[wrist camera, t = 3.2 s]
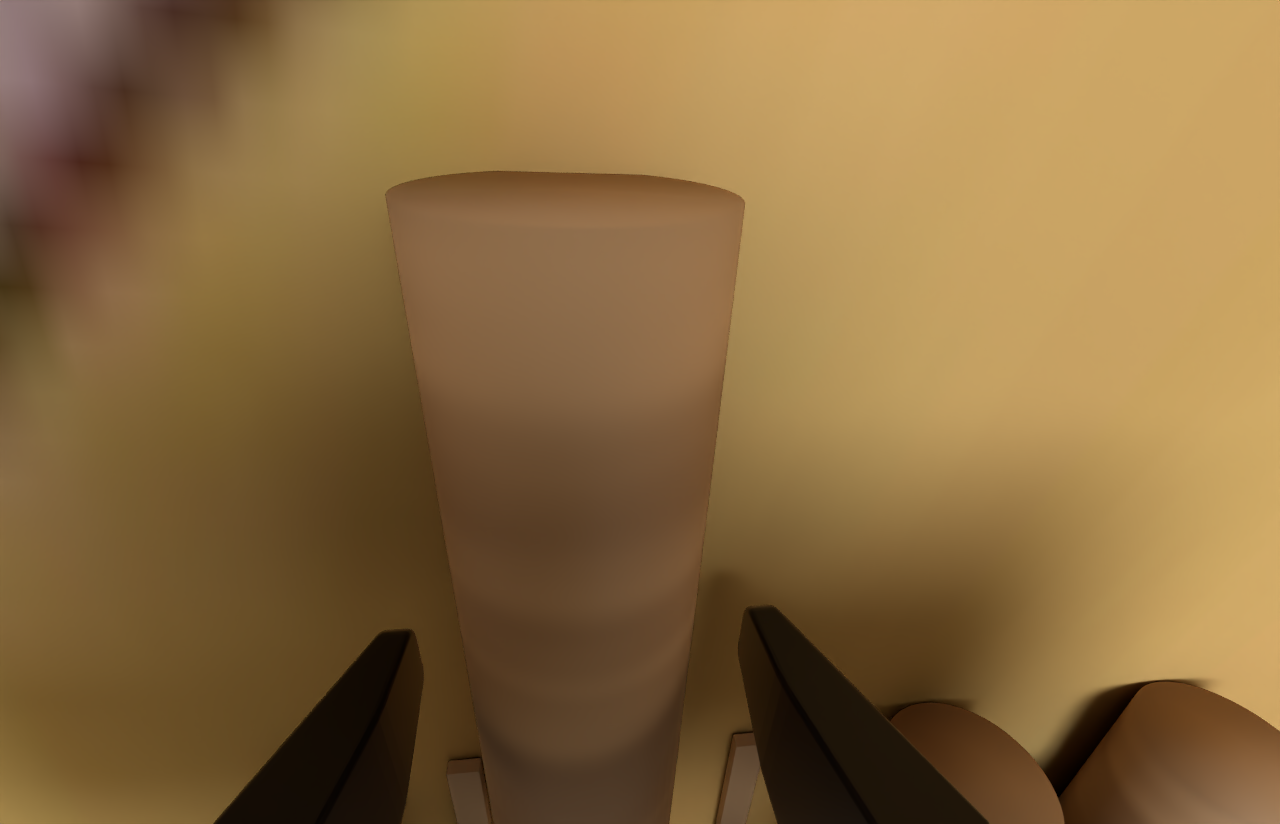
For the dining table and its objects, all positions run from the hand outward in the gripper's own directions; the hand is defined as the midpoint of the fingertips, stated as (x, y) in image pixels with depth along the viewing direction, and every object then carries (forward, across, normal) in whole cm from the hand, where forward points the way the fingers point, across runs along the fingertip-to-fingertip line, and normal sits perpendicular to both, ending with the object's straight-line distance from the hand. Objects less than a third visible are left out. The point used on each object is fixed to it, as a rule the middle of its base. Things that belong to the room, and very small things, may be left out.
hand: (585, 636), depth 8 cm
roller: (+1, 0, 0) cm, 1 cm away
